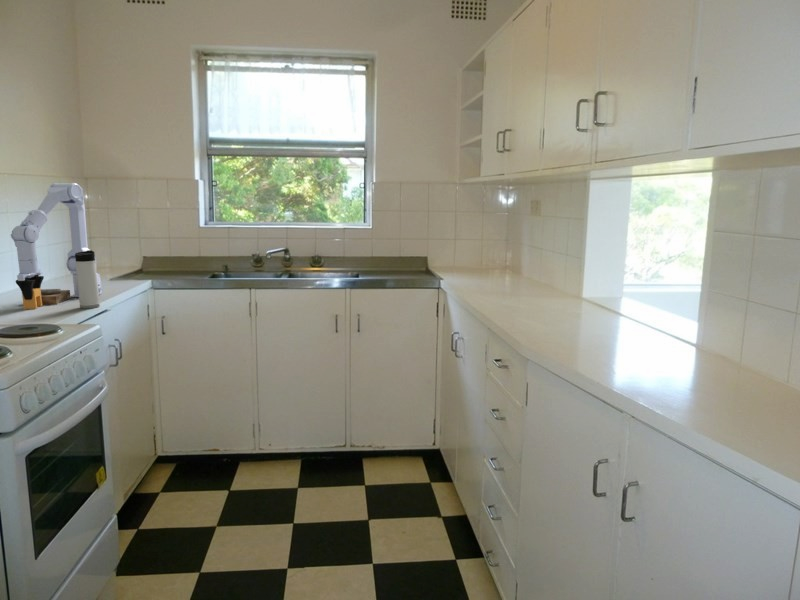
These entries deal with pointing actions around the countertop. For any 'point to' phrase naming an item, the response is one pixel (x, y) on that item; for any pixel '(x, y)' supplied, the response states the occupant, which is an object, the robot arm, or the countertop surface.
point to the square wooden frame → (54, 296)
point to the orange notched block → (33, 300)
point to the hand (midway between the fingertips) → (32, 298)
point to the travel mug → (87, 279)
